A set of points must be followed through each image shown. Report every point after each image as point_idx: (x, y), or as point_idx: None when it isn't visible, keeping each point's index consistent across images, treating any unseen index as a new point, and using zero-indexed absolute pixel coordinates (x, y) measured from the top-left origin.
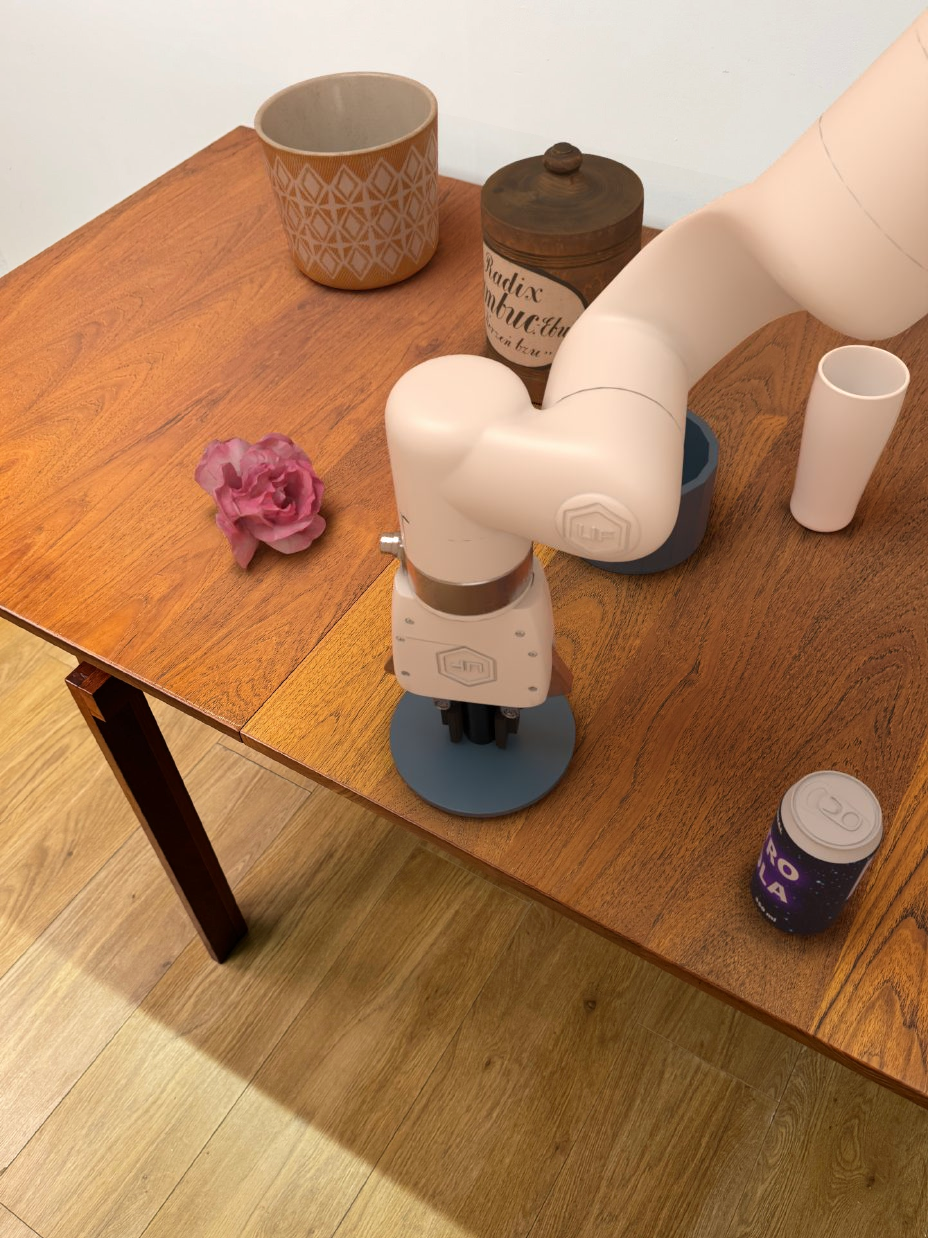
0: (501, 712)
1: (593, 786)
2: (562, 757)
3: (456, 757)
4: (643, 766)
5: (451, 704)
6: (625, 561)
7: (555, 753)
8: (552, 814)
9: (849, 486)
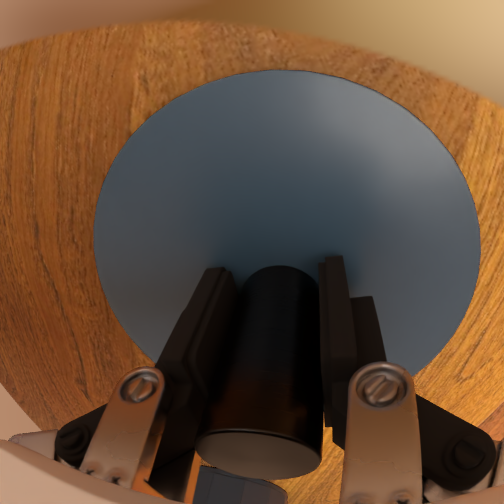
0: (180, 379)
1: (72, 237)
2: (108, 275)
3: (317, 220)
4: (46, 283)
5: (349, 381)
6: (197, 481)
7: (123, 280)
8: (95, 163)
9: None
